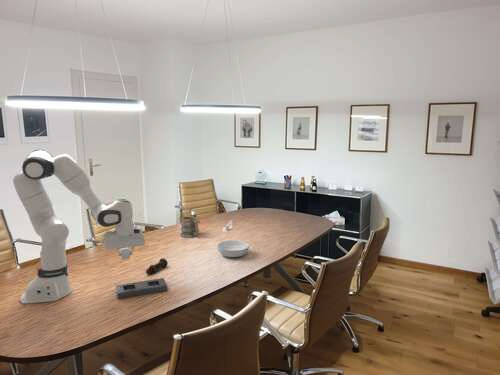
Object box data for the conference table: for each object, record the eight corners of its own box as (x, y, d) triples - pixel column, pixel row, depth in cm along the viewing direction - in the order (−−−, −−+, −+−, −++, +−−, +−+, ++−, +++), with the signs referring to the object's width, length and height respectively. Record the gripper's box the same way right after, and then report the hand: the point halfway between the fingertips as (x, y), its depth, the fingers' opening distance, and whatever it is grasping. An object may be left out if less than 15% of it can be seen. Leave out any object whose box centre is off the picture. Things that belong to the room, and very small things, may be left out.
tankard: (177, 235, 286) (177, 216, 283) (191, 232, 294) (190, 214, 292) (192, 241, 271) (191, 221, 269) (206, 237, 280) (205, 218, 277)
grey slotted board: (117, 299, 180) (117, 293, 179) (116, 290, 189) (116, 285, 188) (167, 290, 189) (167, 285, 188) (163, 283, 198) (163, 277, 197)
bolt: (146, 278, 210) (163, 268, 223) (152, 275, 207) (169, 265, 221) (142, 268, 210) (159, 259, 223) (148, 266, 207) (164, 256, 221)
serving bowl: (223, 262, 229) (223, 252, 227) (213, 252, 247) (213, 242, 246) (254, 257, 237) (254, 247, 236) (241, 248, 256) (241, 238, 255)
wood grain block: (121, 259, 193) (121, 250, 192) (121, 257, 196) (120, 248, 196) (129, 259, 194) (129, 249, 194) (129, 256, 198) (128, 247, 197)
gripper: (103, 233, 186) (104, 259, 188) (145, 229, 194) (145, 254, 196) (102, 230, 192) (104, 255, 194) (143, 226, 200) (144, 251, 202)
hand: (125, 255), depth 195 cm, fingers closed on wood grain block, 4 cm apart
